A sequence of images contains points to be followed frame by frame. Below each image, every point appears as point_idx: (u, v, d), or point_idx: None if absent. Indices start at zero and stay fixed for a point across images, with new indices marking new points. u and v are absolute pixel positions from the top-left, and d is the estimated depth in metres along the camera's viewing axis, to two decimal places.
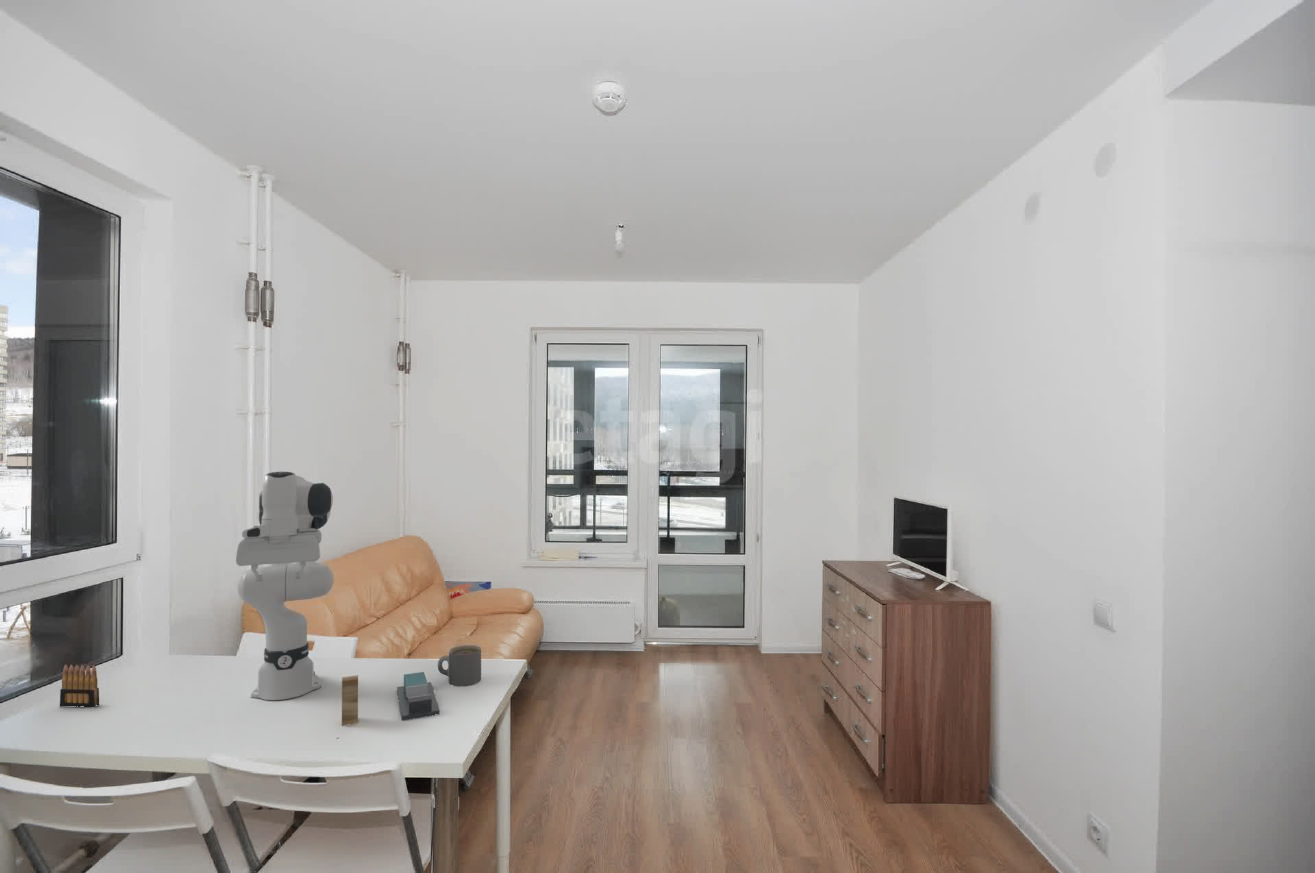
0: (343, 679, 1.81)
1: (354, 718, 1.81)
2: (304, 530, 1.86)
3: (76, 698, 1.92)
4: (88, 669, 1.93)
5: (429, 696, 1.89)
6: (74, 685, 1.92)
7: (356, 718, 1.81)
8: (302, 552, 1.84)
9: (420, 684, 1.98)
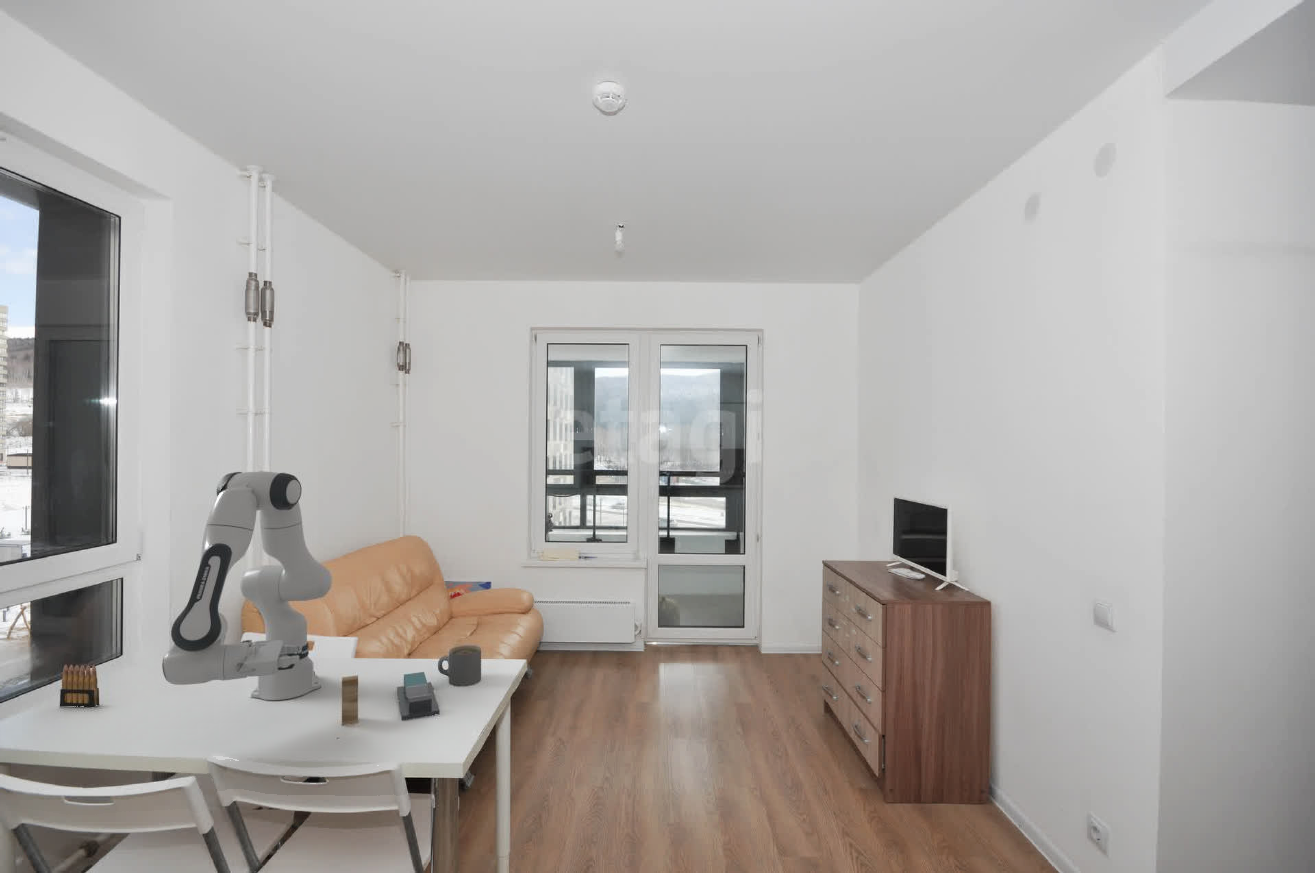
0: (343, 679, 1.81)
1: (354, 718, 1.81)
2: None
3: (76, 698, 1.92)
4: (88, 669, 1.93)
5: (429, 696, 1.89)
6: (74, 685, 1.92)
7: (356, 718, 1.81)
8: None
9: (420, 684, 1.98)
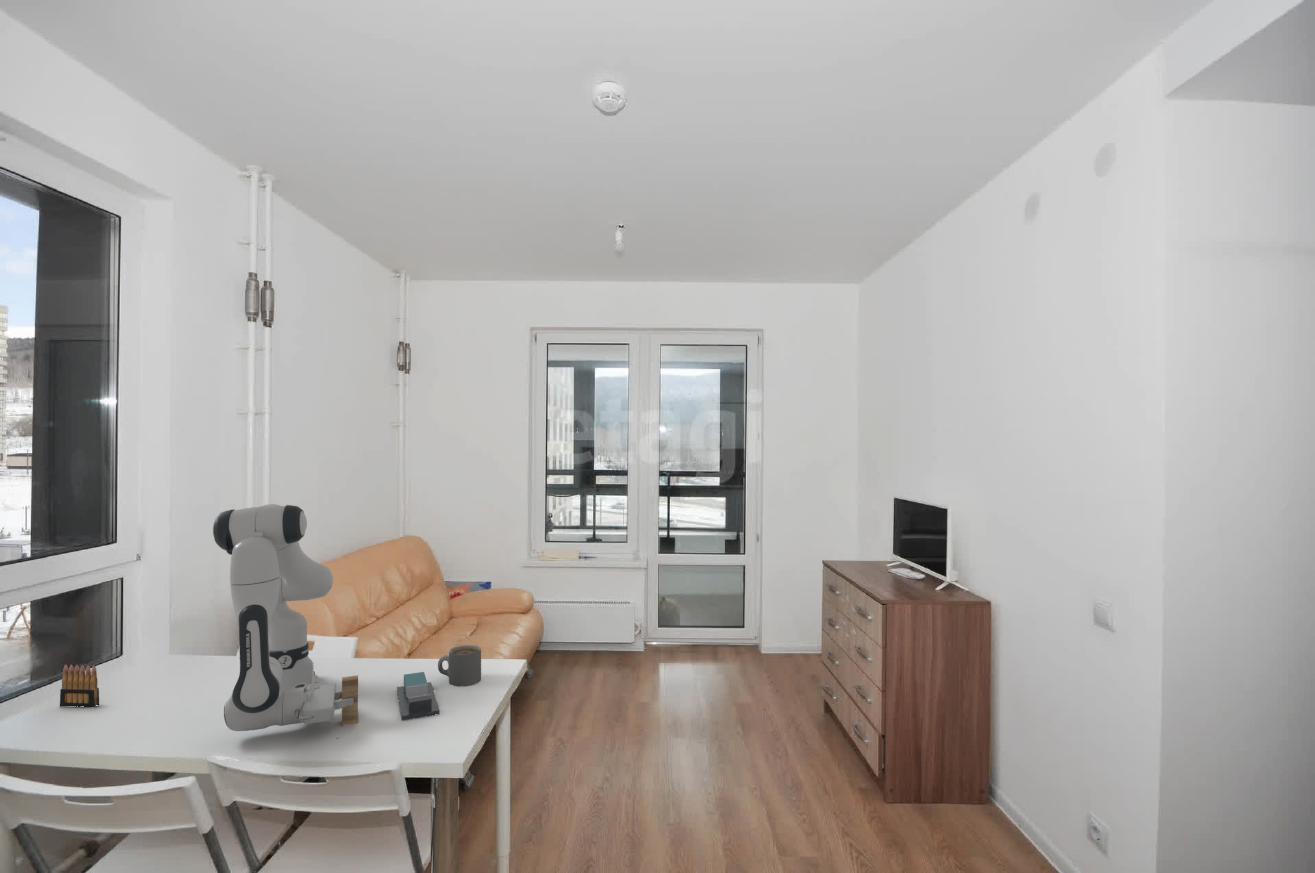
0: (343, 679, 1.81)
1: (354, 718, 1.81)
2: None
3: (76, 698, 1.92)
4: (88, 669, 1.93)
5: (429, 696, 1.89)
6: (74, 685, 1.92)
7: (356, 718, 1.81)
8: None
9: (420, 684, 1.98)
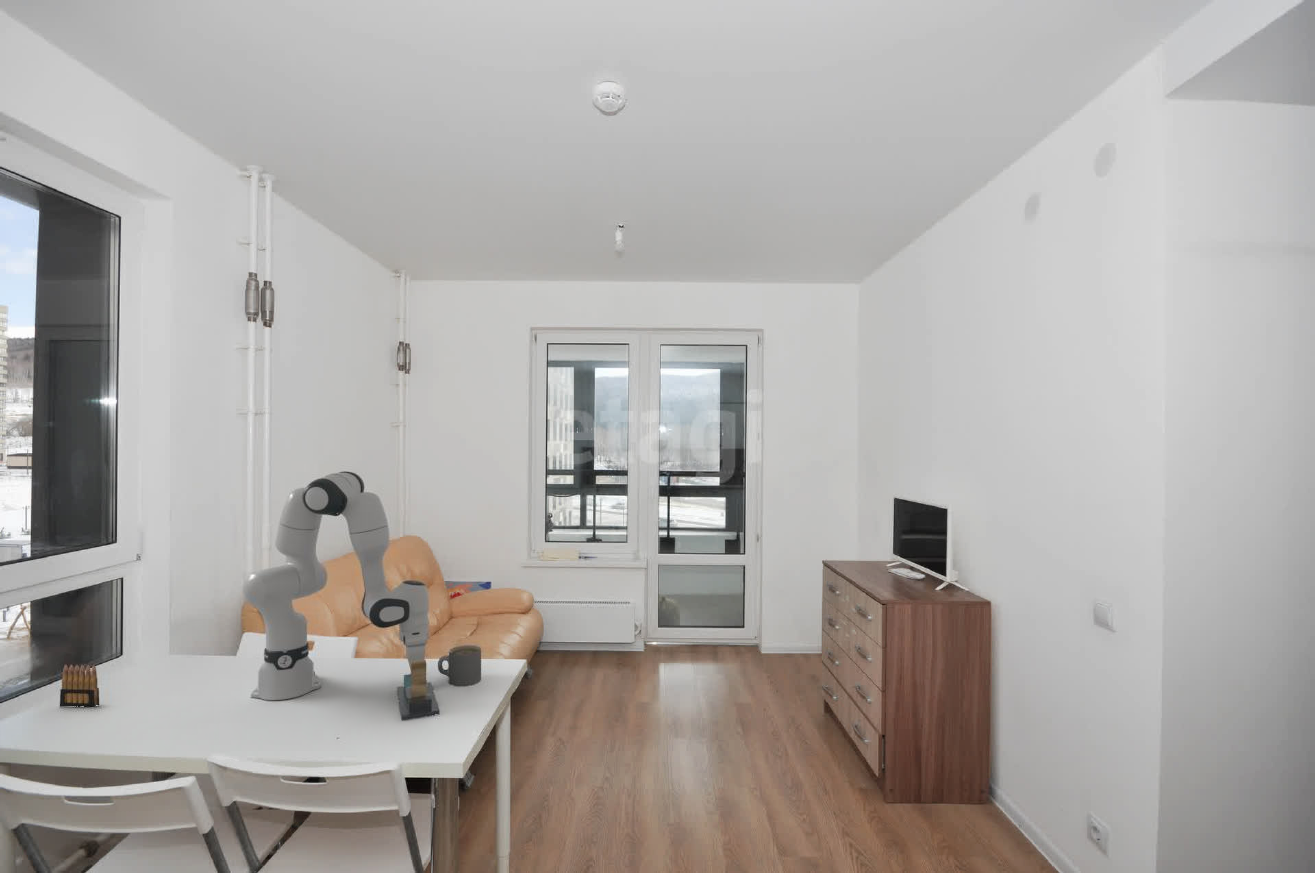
0: (412, 663, 1.91)
1: None
2: None
3: (76, 698, 1.92)
4: (88, 669, 1.93)
5: (429, 696, 1.89)
6: (74, 685, 1.92)
7: None
8: None
9: None
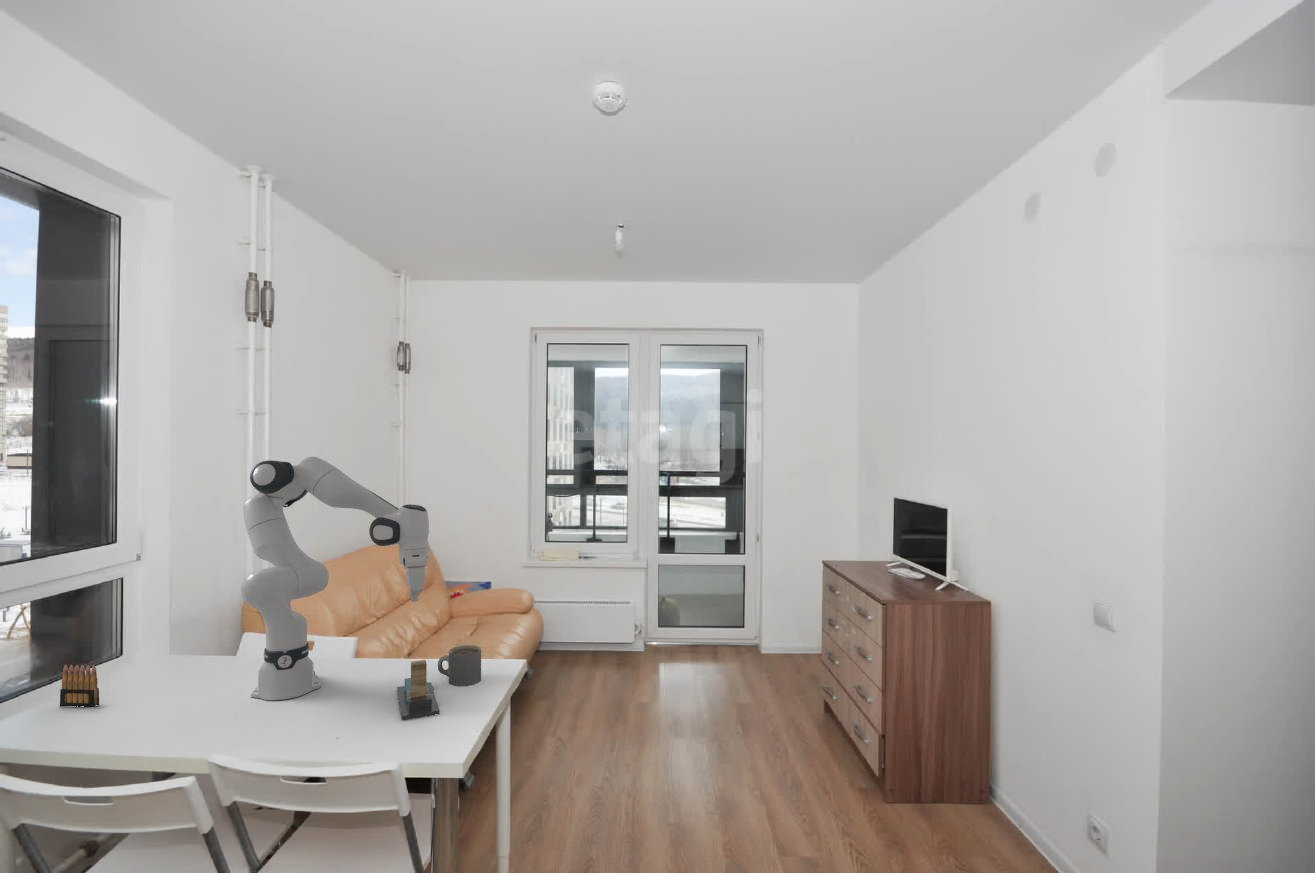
0: (412, 663, 1.90)
1: None
2: None
3: (76, 698, 1.92)
4: (88, 669, 1.93)
5: (429, 696, 1.89)
6: (74, 685, 1.92)
7: None
8: None
9: None
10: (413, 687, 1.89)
